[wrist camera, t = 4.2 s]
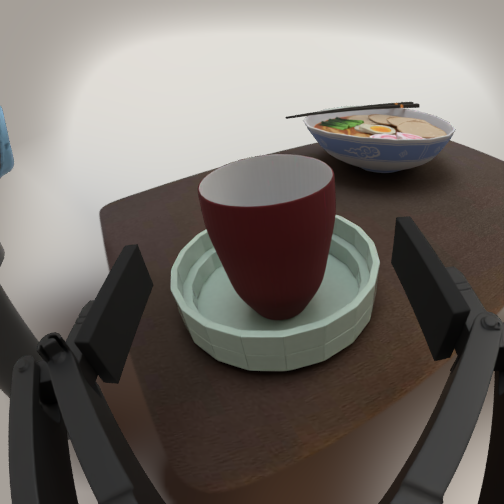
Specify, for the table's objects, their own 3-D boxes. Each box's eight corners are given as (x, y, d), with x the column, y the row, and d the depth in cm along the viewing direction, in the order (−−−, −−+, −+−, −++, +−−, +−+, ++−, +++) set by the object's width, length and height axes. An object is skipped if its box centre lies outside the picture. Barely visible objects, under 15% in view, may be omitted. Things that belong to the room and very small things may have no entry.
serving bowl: (236, 415, 17) (221, 381, 15) (163, 285, 29) (150, 248, 27) (411, 305, 22) (421, 264, 20) (300, 227, 34) (297, 192, 32)
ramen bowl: (340, 213, 35) (338, 142, 31) (281, 155, 54) (275, 109, 49) (484, 182, 38) (491, 129, 33) (400, 138, 56) (400, 98, 52)
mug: (221, 262, 29) (197, 157, 24) (307, 245, 30) (300, 139, 24) (233, 354, 21) (196, 221, 15) (350, 327, 21) (358, 190, 16)
